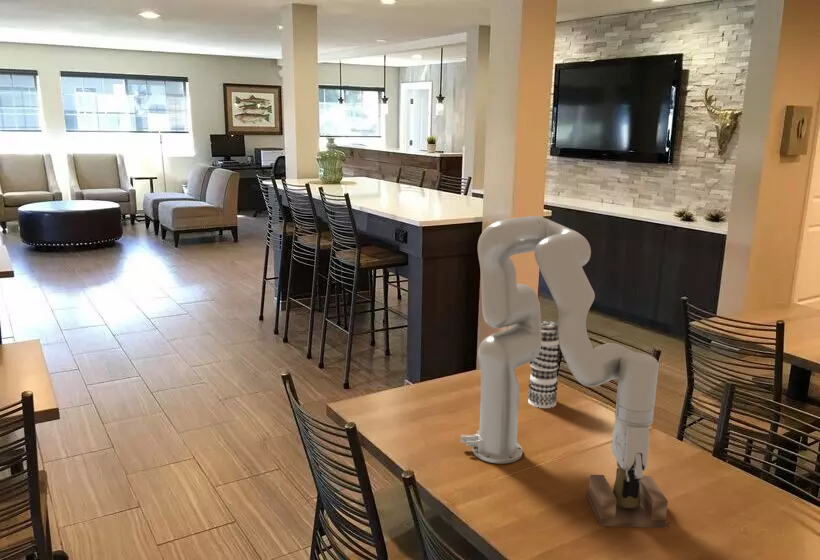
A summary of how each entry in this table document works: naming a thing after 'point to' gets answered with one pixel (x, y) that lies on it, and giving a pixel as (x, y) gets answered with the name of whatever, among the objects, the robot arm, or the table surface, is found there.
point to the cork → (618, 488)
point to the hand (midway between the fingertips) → (626, 490)
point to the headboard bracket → (614, 515)
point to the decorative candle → (545, 368)
